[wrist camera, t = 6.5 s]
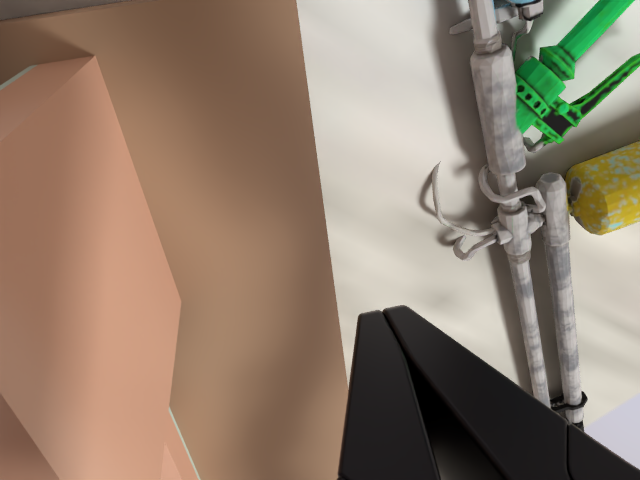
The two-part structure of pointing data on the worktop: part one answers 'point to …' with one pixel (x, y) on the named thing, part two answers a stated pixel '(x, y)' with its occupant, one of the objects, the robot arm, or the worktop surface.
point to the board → (224, 217)
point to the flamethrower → (551, 190)
